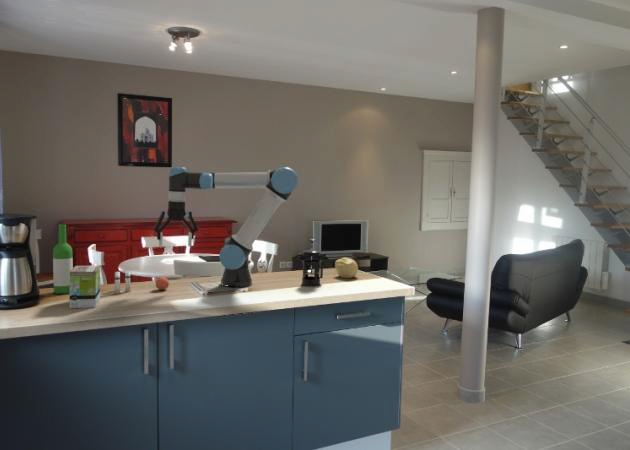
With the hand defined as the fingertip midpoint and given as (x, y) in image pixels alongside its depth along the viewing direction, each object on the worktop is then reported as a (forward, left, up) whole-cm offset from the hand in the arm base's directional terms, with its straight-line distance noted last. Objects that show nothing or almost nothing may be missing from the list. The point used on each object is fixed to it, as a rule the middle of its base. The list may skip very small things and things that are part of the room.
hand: (175, 246), depth 239 cm
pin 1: (+15, +20, -20) cm, 32 cm away
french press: (-38, -55, -20) cm, 69 cm away
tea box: (+3, +41, -20) cm, 46 cm away
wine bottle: (+28, +38, -20) cm, 52 cm away
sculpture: (-39, -84, -20) cm, 94 cm away
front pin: (+11, +18, -20) cm, 29 cm away
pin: (+11, +23, -20) cm, 32 cm away
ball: (+3, +5, -17) cm, 18 cm away
